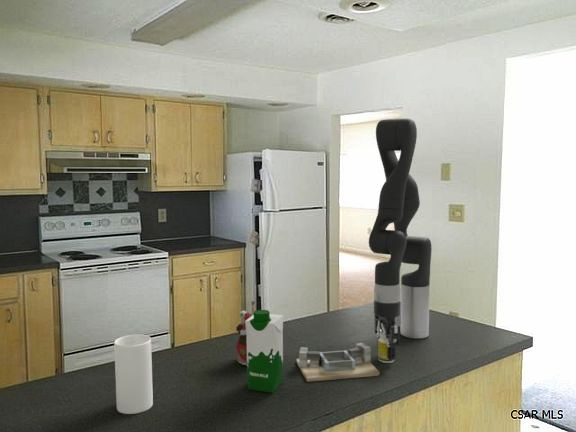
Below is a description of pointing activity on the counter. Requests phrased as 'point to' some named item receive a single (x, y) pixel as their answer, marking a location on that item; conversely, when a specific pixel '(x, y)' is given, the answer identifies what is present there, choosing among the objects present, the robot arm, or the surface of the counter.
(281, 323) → the milk carton
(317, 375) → the shaft bench
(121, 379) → the cup
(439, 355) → the counter surface
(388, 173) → the robot arm
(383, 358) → the supplement bottle
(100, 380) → the counter surface
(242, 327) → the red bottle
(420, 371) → the counter surface
